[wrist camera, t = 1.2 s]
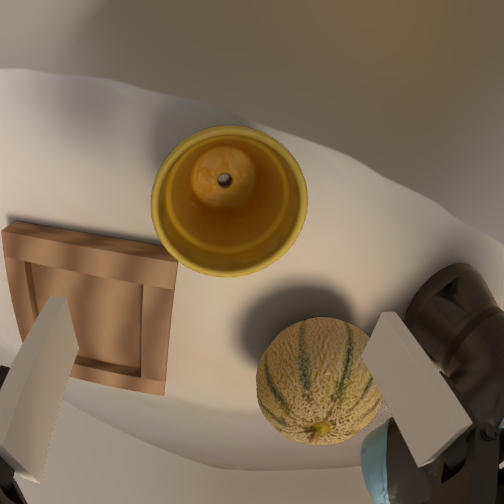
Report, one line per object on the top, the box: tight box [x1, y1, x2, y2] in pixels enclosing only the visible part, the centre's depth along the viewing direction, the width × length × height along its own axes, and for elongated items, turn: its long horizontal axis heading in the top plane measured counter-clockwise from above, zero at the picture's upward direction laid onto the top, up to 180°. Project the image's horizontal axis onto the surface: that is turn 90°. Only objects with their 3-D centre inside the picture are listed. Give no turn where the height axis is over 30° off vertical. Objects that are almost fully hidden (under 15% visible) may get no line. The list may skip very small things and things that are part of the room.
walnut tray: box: [1, 221, 178, 396], centre depth 31 cm, size 20×20×3 cm
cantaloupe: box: [256, 317, 384, 445], centre depth 31 cm, size 15×15×15 cm
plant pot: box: [151, 125, 308, 277], centre depth 24 cm, size 10×10×10 cm
